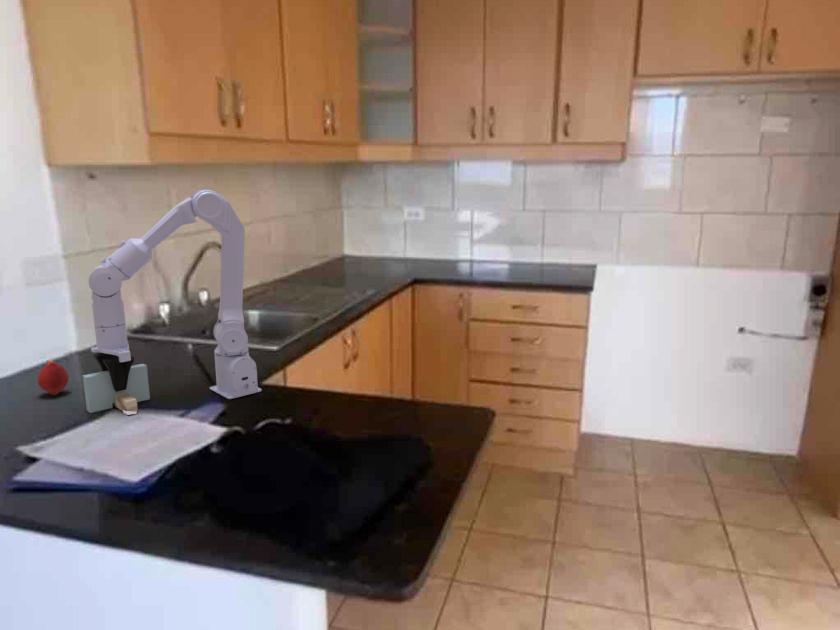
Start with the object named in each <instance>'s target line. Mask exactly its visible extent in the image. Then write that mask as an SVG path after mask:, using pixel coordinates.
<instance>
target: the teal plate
mask: <svg viewBox="0 0 840 630" xmlns="http://www.w3.org/2000/svg"><path fill="white" fill-rule="evenodd" d="M82 381H83V389H84V398H85V407H86V411H87V412H88V413H89V414H91V413H96V412H100V411H105V410H108V409H110V410H111V409H113V407H114V406H113V405H112V403H115V402H116V398H115V394H118V393H122V392H126V393H128V394H129V395H131V396H132V397H133V398H135V399H136V400H137V403H139V402H142V401H143V402H144V401H148V400H150V399H151V395H150V385H149V384H150V383H149V375H148V366H147V364H145V363H139V364H134V365H133V364H132V366H131V368H130V371H129V376H128V383H127V388H126V390H122V391H118V392H116V391H115V390H114V387H113V384H112V380H111V377H110V374H109V371H99V372H93V373H88V374H83V375H82Z"/></svg>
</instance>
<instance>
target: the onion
mask: <svg viewBox="0 0 840 630" xmlns="http://www.w3.org/2000/svg"><path fill="white" fill-rule="evenodd" d="M69 378H70V377H69V374H68V371H67V370H66V368H64V366H62V365H60V364H59V363H57V362H55V361H53V360H52V359H48V360H47V361H46V365H44V366H43V367H42V368H41V369H40V371H39V372H38V375H37V383H38V386H39V387H40V389H42V390H44V391H45V392H47V393H49V394H50V395H52V396H57V395H58V394H59V393H61V392H62V391H63V390H64V389H65V388H66V387H67V385H68V383H69Z"/></svg>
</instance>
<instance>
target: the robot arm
mask: <svg viewBox="0 0 840 630" xmlns="http://www.w3.org/2000/svg"><path fill="white" fill-rule="evenodd" d="M196 217H197V218H199V219H200V220H202V221H203V222H205V223H208V224H209V225H210V226H211V227H213V229H215V231H216V232H217V233H219V234H220V236H221V238H220V239H221V242H220V243H221V245H220V247H221V248H220V276H219V277H220V282H219V283H220V284H219V285H220V287H219V289H220V290H219V291H220V292H219V309H218V313H217V314H218V315H217V317H218V318H217V322H216V323H215V324H214V327H213V331H212V332H213V337H214V339H215V340H216V341H217V345H216V348H215V349H214V351H213V352H214V364H215V365H214V366H215V377H216V378H215V379H216V380H215V381H216V384H215V385H212V386H210V387H209V390H211V391H213V392H214V393H216V394H218V395H220V396H222V397H223V398H225V399H227V400H232V399H236V398H240V397H241V398H242V397H244V396H247V395H248V396H249V395H252V394H256V393H260V392H262V390H263V389H262V388H260V387H259V386H258V385H259V384H258V370H257V369H258V366H257V363H256V361H255V360H254V359H253V358H252V357H251V356H250V352H249V347H248V343H249V337H248V333H247V332H246V330H245V318H244V312H243V311H244V310H243V302H244V301H243V300H244V299H243V297H244V295H243V294H244V270H245V269H244V267H245V265H244V263H245V236H246V235H245V233H246V231H245V230H246V229H245V226H244V224H243V222H242V221H241V219H240V218H239V216H238V215H237V214H236V212H235V210H234V208H233V207H232V204H231V202H230V201H229V200H227V199H226V198H225V197H224V196H222V195H221V194H220V193H219V192H217V191H214V190H211V189H206V188H203V189H199V190H197V191H195V192H194V193H193V194H192V195H191V197H187V198H185V199H184V200H182V201H181V202H179V203H178V204H176V205H175V206H174V207H173V208H171V210H169V211H168V212H167V213H166V214H165V215H164V216H163V217H162V218H160V220H158V222H156V223H155V225H153V226H152V227H151V228H150V229H149V230H148V231H147V232H146V233H145V234H144V235H143V236H141V237H140V238H133V237H132V238H131V237H130V238H129V239H128V240H124V239H122V241H121V242H119V243H118V246H119V248H117V249H116V250H115V251H114V252H112V254H110V255H109V256H108V257H107V258H106V257H103V258H102V259H101V260H100V263H101V264H102V265H98V266H96V267H95V268H93V270H92V271H91V273H90V275H89V277H88V286H89V288H90V290H91V291H92V292H91V300H92V302H91V303H92V304H91V306H92V307H91V308H92V315H93V324H94V332H95V333H94V334H95V342H96V346H94V347H93V346H92V347H91V348H90V352H91V353H95V354H93V357H94V359H95V360H96V361H97V363H98V365H99V367H100V369H101V372H103V371H109V374H110V377H111V380H112V384H113V387H114V390H115V391H116V392H118V391H122V390H126V388H127V383H128V376H129V371H130V368H131V366H133V364H134V362H135V357H134V356H132V355H131V351H130V344H129V341H128V335H127V333H128V332H127V324H126V314H125V304H124V300H123V298H122V292H121V289H122V285H123V284H122V283H123V282H124V281H128V280H130V279H131V278H132V277H134V276H135V274H137V273H138V272H139V271H140V270H141V269H143V267H145V266H146V265H147V264H148V263H149V262H151V260H152V259H153V252H152V251H153V250H154V249H155V248H156V247H157V246H158V245H161V243H162V242H163V241H165V240H166V239H167V238H168V237H169V236H171V235H172V234H173V233H174V232H176V231H177V230H178V229H179V228H180V227H182V226H184V225H188V224H189V225H191V224H194V223H198V221H197V219H196Z"/></svg>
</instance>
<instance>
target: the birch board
mask: <svg viewBox="0 0 840 630" xmlns="http://www.w3.org/2000/svg"><path fill="white" fill-rule="evenodd" d="M115 398H116V402H115V403H112V405H113V407H115V408H116V409H117V408H119V409H122V410H125V411H139V409H138V402H137V400H136V399H135V398H133V397H132V396H131V395H129V394H128V393H126V392H122V393H118V394H115ZM119 409H118V410H119Z"/></svg>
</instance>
